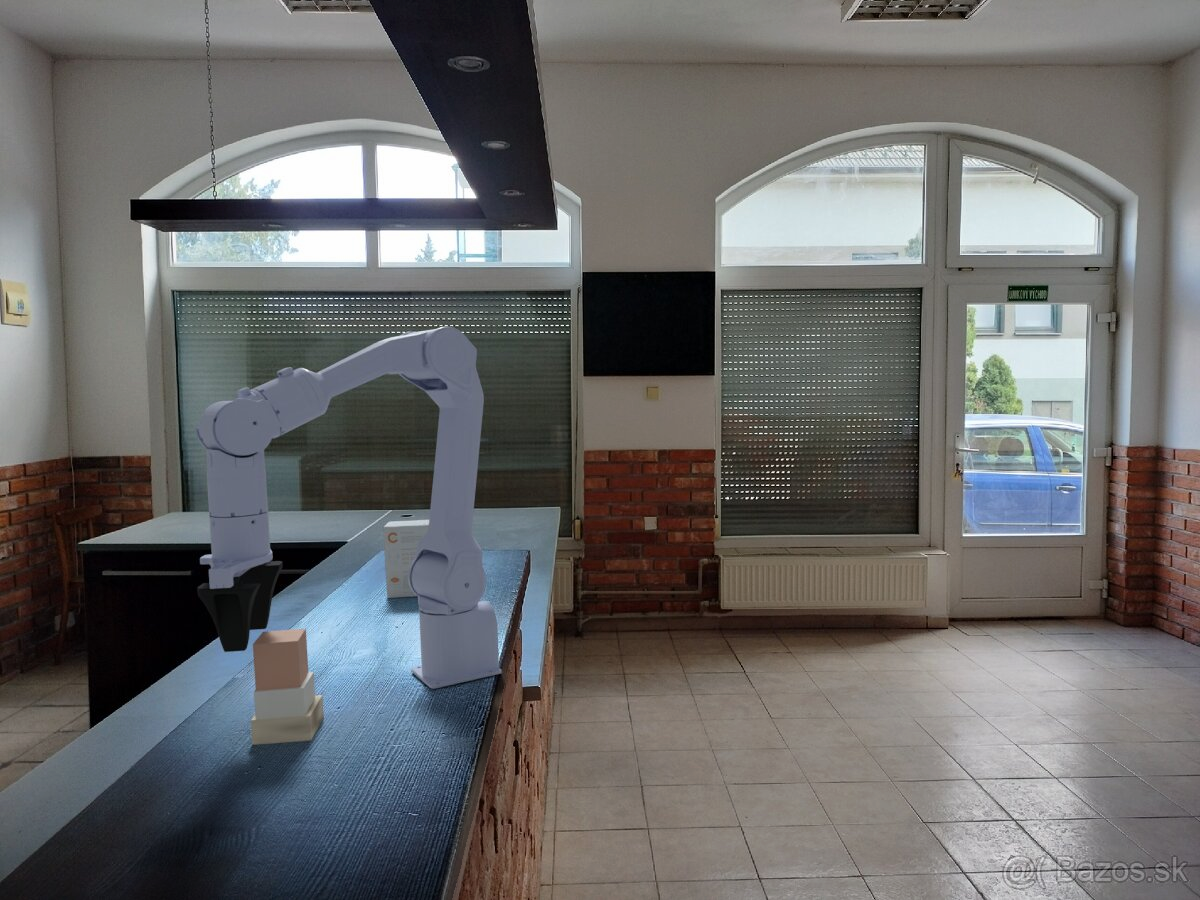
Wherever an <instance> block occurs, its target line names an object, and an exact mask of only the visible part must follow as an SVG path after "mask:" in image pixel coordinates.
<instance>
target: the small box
mask: <svg viewBox="0 0 1200 900" xmlns="http://www.w3.org/2000/svg"><path fill="white" fill-rule="evenodd" d="M428 529H429V519H417V520H394V521H388V522H387V523H386V524H385V525H384V526H383V527H382V531H383V547H384V562H385V563H384V564H385V567H384V568H385V582H386V584H385V585H386V596H387V599H393V598H394V599H396V598H397V599H398V598H409V597H413V598H414V597H418V596H417V595H416V594H414V593H413V591H412V590H411V589H410V586H409V584H408V570H409V567H410V565H411V563H412V561H413V560H414V558H415V555H416V551H417V543H418V541H419V540H420V539H421V538H422V536H423V535H424V534H425V533H426V532H427V530H428Z"/></svg>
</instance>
